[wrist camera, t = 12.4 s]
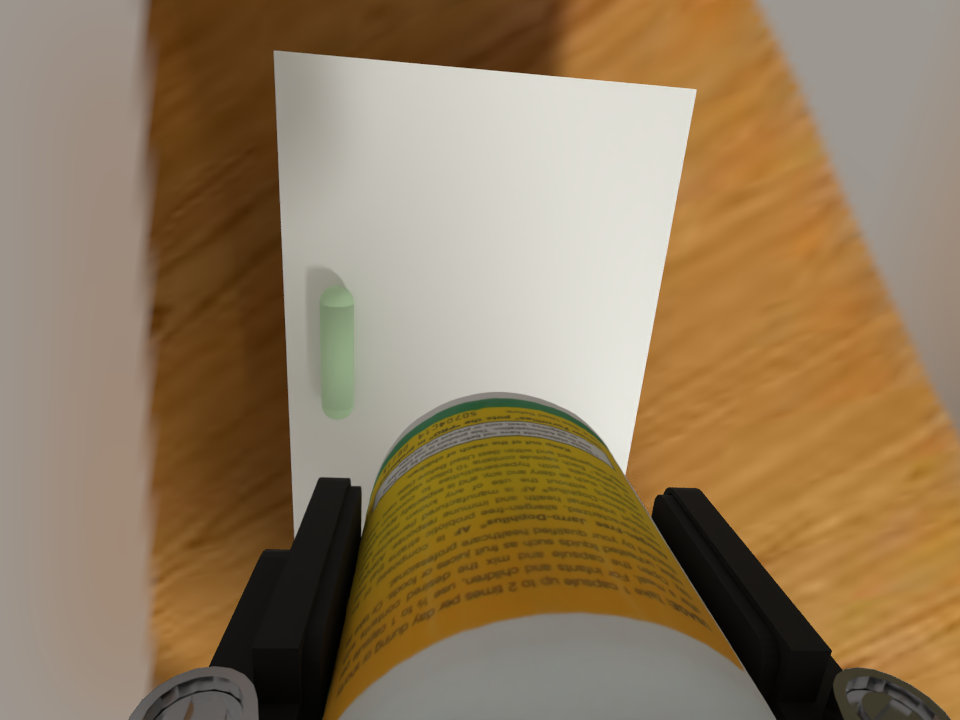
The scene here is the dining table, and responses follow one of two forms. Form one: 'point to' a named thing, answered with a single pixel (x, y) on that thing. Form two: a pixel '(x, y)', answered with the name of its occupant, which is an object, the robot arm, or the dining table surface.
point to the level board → (464, 247)
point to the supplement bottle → (523, 584)
